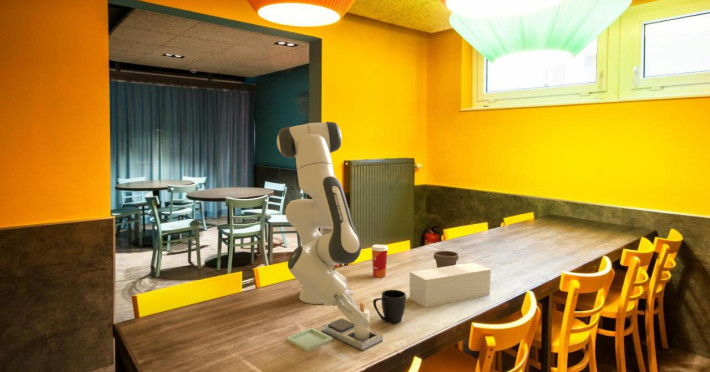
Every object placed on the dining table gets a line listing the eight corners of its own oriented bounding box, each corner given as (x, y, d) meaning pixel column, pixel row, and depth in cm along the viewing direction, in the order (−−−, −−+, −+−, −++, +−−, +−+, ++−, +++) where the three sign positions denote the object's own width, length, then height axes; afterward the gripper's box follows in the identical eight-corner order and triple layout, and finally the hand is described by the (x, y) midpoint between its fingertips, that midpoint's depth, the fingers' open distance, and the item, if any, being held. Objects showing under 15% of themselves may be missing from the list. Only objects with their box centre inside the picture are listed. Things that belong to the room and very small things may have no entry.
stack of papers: (471, 286, 182) (472, 262, 181) (489, 294, 172) (491, 269, 171) (409, 298, 168) (409, 271, 167) (425, 307, 158) (425, 279, 157)
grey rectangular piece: (341, 325, 142) (342, 315, 142) (382, 343, 130) (382, 333, 129) (321, 333, 136) (321, 323, 136) (362, 353, 123) (362, 342, 123)
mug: (367, 319, 147) (367, 293, 146) (397, 314, 152) (397, 288, 151) (379, 329, 139) (379, 301, 138) (409, 322, 145) (410, 295, 144)
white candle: (361, 334, 133) (361, 299, 132) (372, 339, 130) (372, 303, 129) (350, 339, 130) (351, 303, 129) (361, 344, 127) (362, 307, 125)
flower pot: (430, 271, 203) (430, 250, 202) (453, 270, 204) (453, 250, 203) (437, 278, 192) (437, 257, 191) (461, 278, 193) (462, 256, 192)
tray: (312, 331, 137) (312, 327, 137) (332, 342, 130) (332, 337, 130) (286, 342, 130) (286, 337, 130) (307, 353, 123) (307, 348, 123)
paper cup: (371, 272, 199) (372, 243, 198) (388, 273, 198) (388, 244, 197) (370, 278, 191) (370, 247, 190) (387, 279, 190) (387, 248, 189)
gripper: (348, 294, 116) (381, 325, 119) (332, 272, 135) (361, 299, 139) (332, 312, 115) (366, 342, 119) (318, 287, 135) (347, 313, 138)
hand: (363, 318), depth 129 cm, fingers open, 8 cm apart
